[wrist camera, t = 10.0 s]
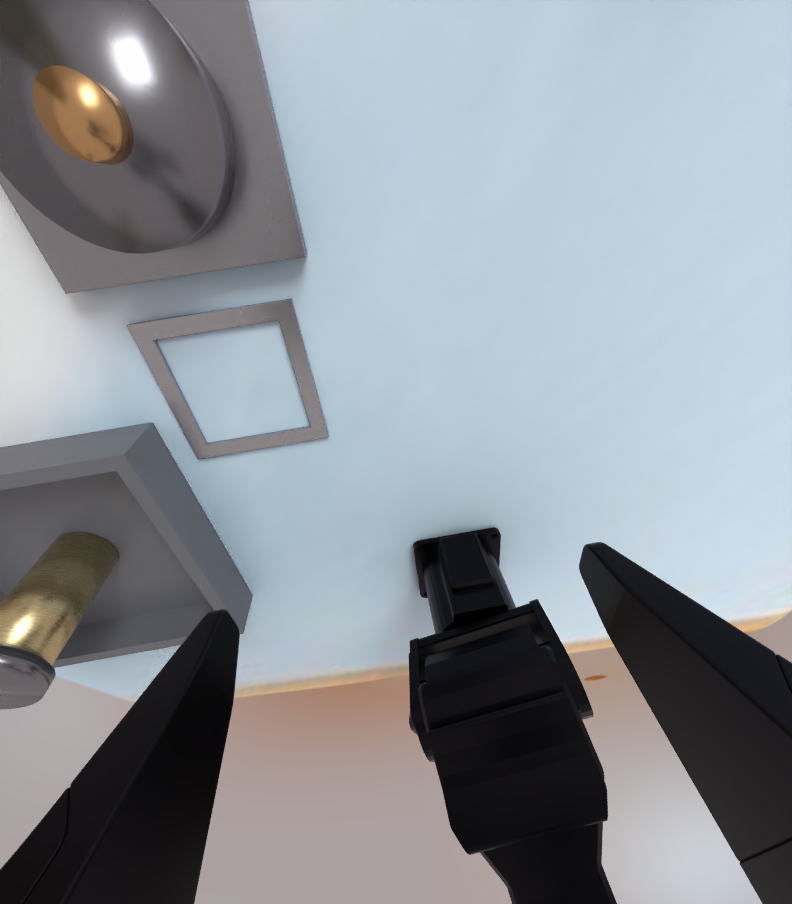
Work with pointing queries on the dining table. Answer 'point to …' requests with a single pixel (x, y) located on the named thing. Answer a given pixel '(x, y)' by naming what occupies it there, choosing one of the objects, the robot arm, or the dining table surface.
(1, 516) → the tray
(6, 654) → the gold cylinder with rim
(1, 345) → the dining table surface
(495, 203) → the dining table surface
